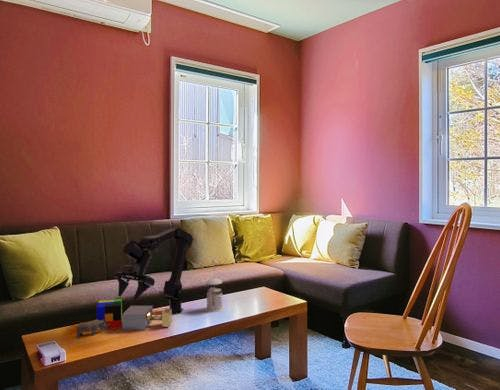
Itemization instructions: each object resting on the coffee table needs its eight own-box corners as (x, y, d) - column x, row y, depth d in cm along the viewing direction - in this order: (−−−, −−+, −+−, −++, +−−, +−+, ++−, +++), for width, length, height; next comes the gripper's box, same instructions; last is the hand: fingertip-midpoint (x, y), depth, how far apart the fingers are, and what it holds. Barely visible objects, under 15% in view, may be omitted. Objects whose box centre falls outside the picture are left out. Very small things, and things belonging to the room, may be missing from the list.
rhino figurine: (111, 332, 169) (111, 318, 169) (77, 339, 161) (76, 325, 160) (108, 329, 172) (108, 315, 172) (74, 336, 164) (74, 322, 164)
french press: (225, 306, 203) (225, 258, 202) (222, 313, 192) (221, 262, 191) (207, 305, 204) (206, 257, 203) (202, 313, 193) (201, 262, 192)
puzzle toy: (96, 330, 171) (96, 307, 171) (99, 322, 181) (98, 300, 180) (121, 327, 174) (120, 305, 174) (122, 320, 183) (121, 298, 183)
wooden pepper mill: (134, 321, 179) (134, 308, 179) (171, 321, 179) (171, 308, 179) (130, 326, 173) (130, 313, 173) (168, 326, 173) (168, 313, 173)
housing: (131, 320, 182) (130, 305, 182) (152, 320, 182) (152, 305, 182) (122, 330, 170) (122, 314, 170) (145, 330, 170) (145, 314, 170)
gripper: (113, 254, 173) (98, 288, 166) (145, 258, 164) (130, 294, 157) (130, 264, 181) (116, 297, 174) (161, 268, 172) (147, 303, 165)
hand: (127, 297), depth 167 cm, fingers open, 9 cm apart
